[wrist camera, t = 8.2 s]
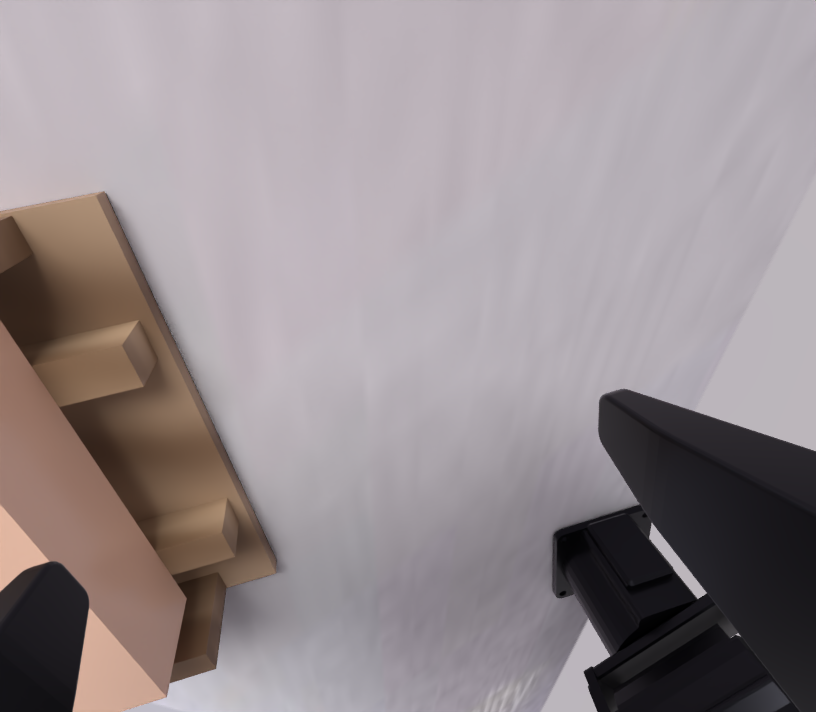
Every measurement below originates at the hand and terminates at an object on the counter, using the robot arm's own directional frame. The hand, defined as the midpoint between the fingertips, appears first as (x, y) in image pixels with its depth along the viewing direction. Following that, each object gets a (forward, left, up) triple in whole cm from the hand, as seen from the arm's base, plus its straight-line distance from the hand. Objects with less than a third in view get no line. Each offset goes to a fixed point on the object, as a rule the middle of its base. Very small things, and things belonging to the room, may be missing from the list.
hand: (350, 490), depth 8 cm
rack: (-5, +11, -12) cm, 17 cm away
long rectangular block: (-5, +11, -9) cm, 15 cm away
